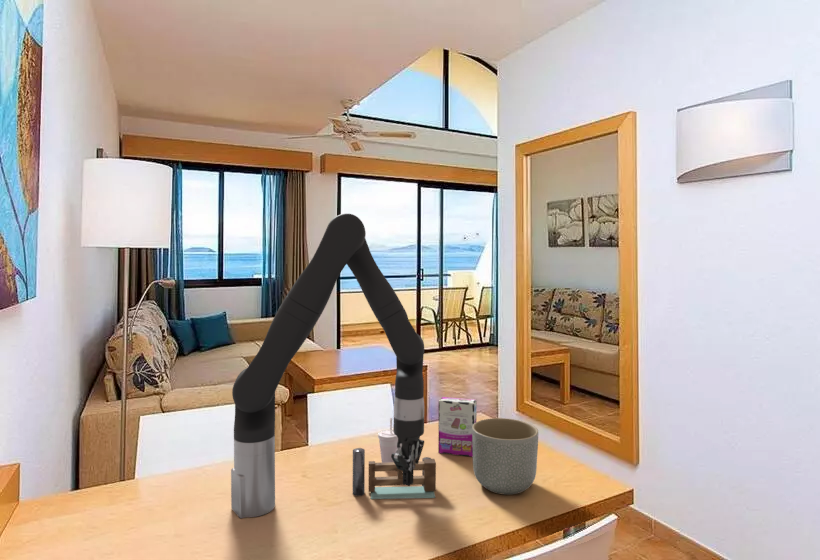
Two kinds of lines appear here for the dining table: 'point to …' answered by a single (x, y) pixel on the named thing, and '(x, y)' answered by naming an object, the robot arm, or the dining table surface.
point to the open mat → (401, 492)
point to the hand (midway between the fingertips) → (408, 484)
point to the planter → (504, 454)
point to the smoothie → (387, 443)
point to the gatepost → (358, 472)
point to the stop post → (423, 460)
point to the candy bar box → (456, 425)
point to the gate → (426, 480)
